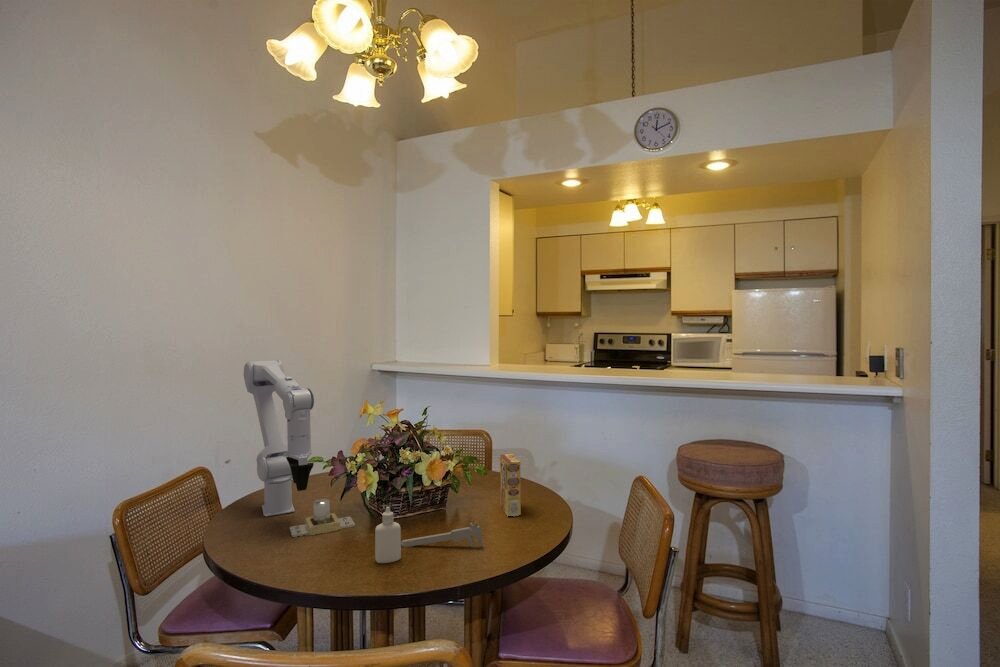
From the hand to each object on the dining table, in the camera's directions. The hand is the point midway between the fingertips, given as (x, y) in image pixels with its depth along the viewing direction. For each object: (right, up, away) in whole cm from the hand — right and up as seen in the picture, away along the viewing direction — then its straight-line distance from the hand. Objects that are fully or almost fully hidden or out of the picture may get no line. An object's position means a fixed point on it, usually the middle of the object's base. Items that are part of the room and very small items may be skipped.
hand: (299, 486), depth 138 cm
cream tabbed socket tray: (+6, -10, -2) cm, 12 cm away
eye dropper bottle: (+28, -11, -20) cm, 36 cm away
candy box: (+56, -10, +10) cm, 58 cm away
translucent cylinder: (+6, -11, -2) cm, 12 cm away
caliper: (+38, -11, -13) cm, 42 cm away
